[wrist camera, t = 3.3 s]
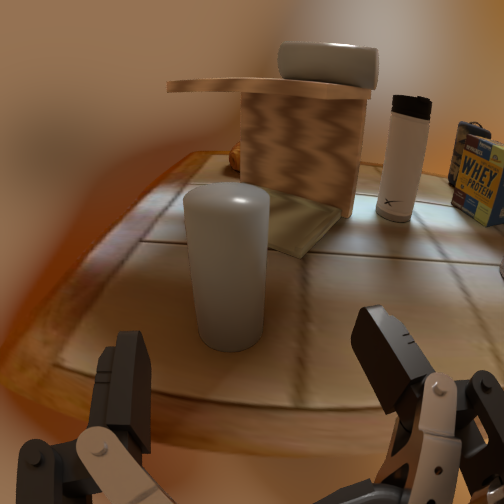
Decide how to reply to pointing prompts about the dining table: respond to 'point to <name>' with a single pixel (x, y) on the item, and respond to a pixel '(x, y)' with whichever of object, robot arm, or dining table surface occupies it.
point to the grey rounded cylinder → (228, 261)
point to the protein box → (481, 181)
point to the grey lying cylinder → (329, 63)
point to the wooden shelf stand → (297, 151)
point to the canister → (459, 146)
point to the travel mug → (403, 157)
